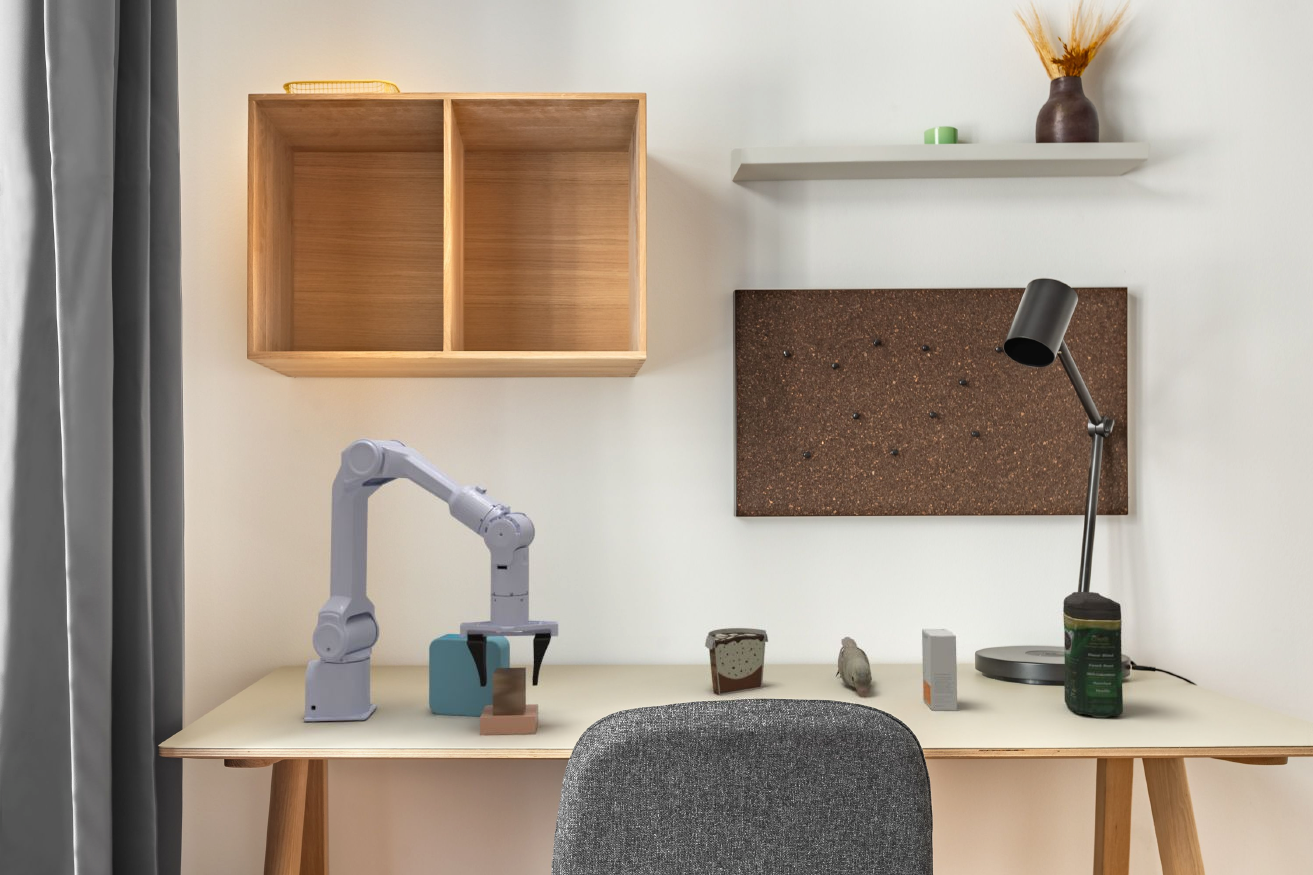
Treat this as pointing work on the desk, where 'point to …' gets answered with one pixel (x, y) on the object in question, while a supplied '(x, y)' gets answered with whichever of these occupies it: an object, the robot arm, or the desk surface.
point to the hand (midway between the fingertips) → (509, 684)
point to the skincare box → (939, 669)
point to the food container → (736, 659)
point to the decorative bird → (854, 666)
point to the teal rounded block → (462, 675)
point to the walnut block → (509, 691)
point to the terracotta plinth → (509, 722)
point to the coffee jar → (1093, 654)
